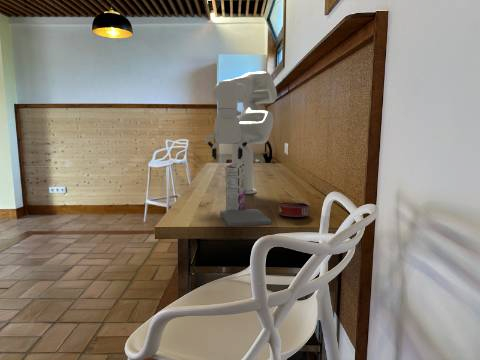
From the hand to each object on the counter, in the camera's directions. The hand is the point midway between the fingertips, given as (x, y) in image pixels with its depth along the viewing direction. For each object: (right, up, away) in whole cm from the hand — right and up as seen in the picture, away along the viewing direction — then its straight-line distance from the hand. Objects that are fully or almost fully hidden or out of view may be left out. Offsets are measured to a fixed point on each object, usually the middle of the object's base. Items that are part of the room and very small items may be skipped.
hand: (227, 159), depth 129 cm
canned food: (+21, -21, -22) cm, 37 cm away
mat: (+6, -20, -23) cm, 32 cm away
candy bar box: (+3, -19, -10) cm, 22 cm away
